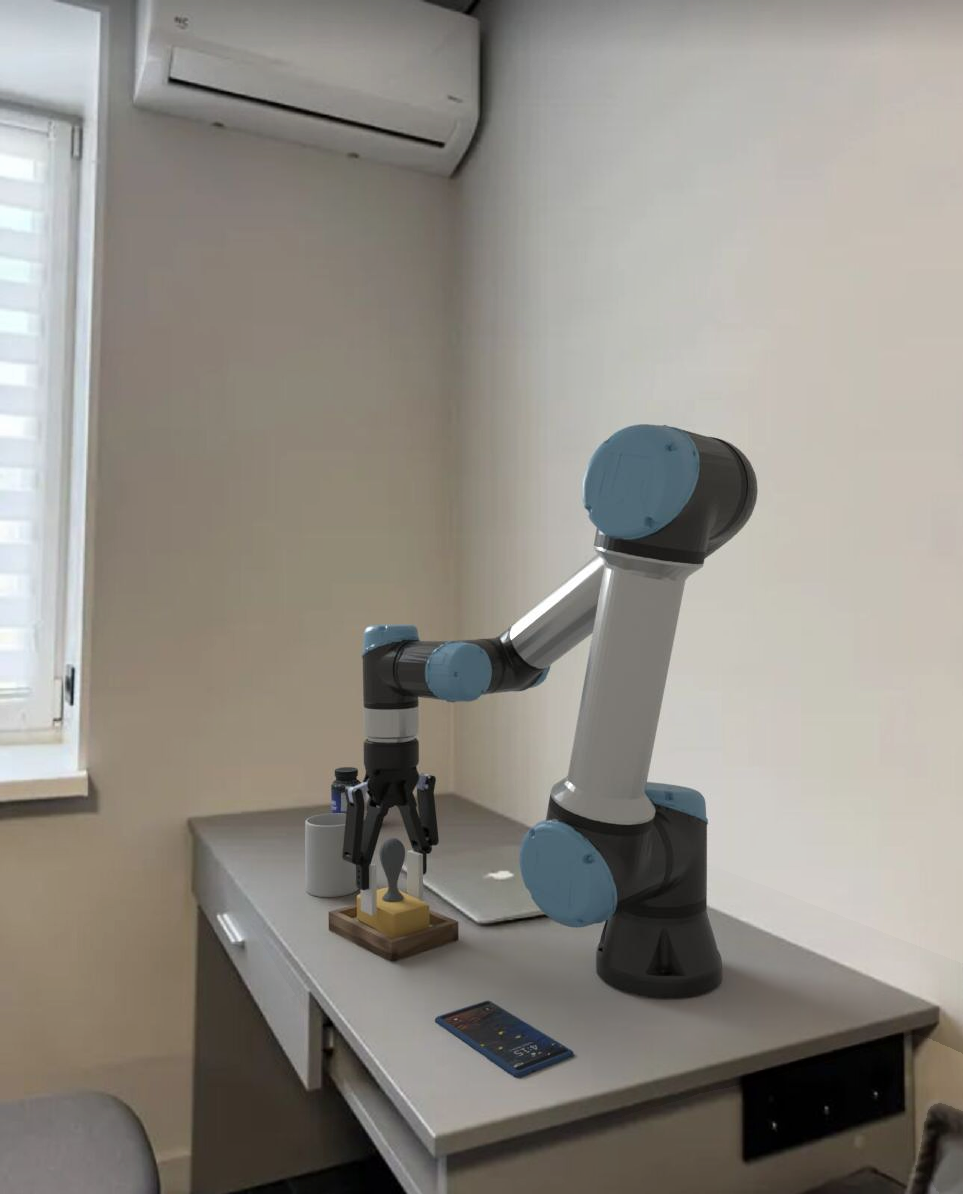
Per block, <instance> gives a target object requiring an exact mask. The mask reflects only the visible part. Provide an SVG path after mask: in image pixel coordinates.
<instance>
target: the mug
mask: <svg viewBox="0 0 963 1194" xmlns="http://www.w3.org/2000/svg"><path fill="white" fill-rule="evenodd" d="M345 822H346V814H343V813H322V814H318V815H317V814H316V815H312V816H310V817H308V818H307V819H305V822H304V826H305V827H304V839H305V840H304V842H305V845H304V847H305V850H304V851H305V852H304V853H305V854H304V855H305V859H304V860H305V864H304V865H305V869H304V870H305V874H304V875H305V878H304V881H305V882H304V883H305V884H304V885H305V891H306V893H307V894H309V895H311V896H314V897H320V898H338V897H344V896H348V895H351V894H354V893H355V892H357V891H359V890H360V889H359V888H357V886H356V865H355V864H353V863H350V862H348V861H345V860H343V858H342V854H343V843H344V833H345Z"/></svg>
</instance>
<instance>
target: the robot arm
mask: <svg viewBox="0 0 963 1194" xmlns="http://www.w3.org/2000/svg"><path fill="white" fill-rule="evenodd" d="M581 492H582V493H581V495H582V502H583V508H584V509H585V510H587V512H588V514H587V515H588V519H589V521H590V522H591V523H592V524H593V525H594V526H595V527H596V529H595V530H596V531H595V536H594V543H593V549H594V550H595V552H596V553H597V554H596V555H595V556H593V557H592V558H591V559H590V560H589V561H587V562H586V563H585V564H584V565H583V566H581V567H580V568H579V569H578V570H576V572H574V573H573V574H572V575H571V576H569V577H568V578H567V579H566V580H565V581H564V582H562V583H561V584H560V585H559V586H557V587H556V588H555V589H554V590H553V591H551V592H550V593H549V594H548V595H546V596H545V597H544V598H543V599H542V600H540V602H538V603H537V604H536V605H534V607H532V608H531V609H530V610H528V611H527V613H525V614H524V615H523V616H521V617H520V618H519V619H518V620H517V621H516V622H514V623H513V624H512V625H511V626H509V627H508V628H507V629H506V630H505V631H503V632H502V633H501V634H499V636H495V637H492V638H490V637H489V638H478V639H476V638H475V639H460V640H459V639H458V640H438V641H437V640H421V639H420V638H419V632H418V631H419V629H418V627H416V625H413V624H405V623H404V624H397V623H395V624H393V623H392V624H390V623H389V624H372V625H368V626H367V627H366V628H365V629H364V632H363V642H362V653H361V658H362V681H363V682H362V693H363V694H362V695H363V697H362V700H363V735H364V736H365V737H366V739H365V740H364V741H363V766H364V769H365V775H364V777H363V780H362V782H361V784H359V785H357V786H354V787H352V786H347V787H346V788H345V796H346V800H347V812H346V822H345V833H344V843H343V854H342V858H343V860H345V861H348V862H350V863H353V864H355V865H356V886H357V888H359V889H358V890H360V894H361V911H364V912H366V913H368V914H370V915H375V914H377V890H378V887H377V883H378V881H377V877H378V876H377V864H374V863H372V862H373V861H372V860H373V857H374V855H375V850H376V846H377V843H378V840H379V836H380V833H381V830H382V826H383V823H384V819H385V817H387V815H388V813H389V809H392V808H394V807H395V806H396V808H397V809H398V811H399V813H400V816H401V818H402V822H403V826H404V828H405V831H406V834H407V837H408V840H409V843H410V846H411V849H413V850H411V849H410V850H407V851H406V892H407V893H406V894H408V895H410V896H412V897H414V898H417V899H419V900H421V901H423V902H424V875H426V874H427V871H428V869H427V863H428V862H427V861H428V860H427V859H428V858H427V856H428V855H429V854H431V852H432V851H433V847H432V846H437V845H438V844H439V842H440V839H439V838H440V837H439V829H438V822H437V811H436V809H437V808H436V800H435V787H436V782H437V778H436V776H435V775H431V774H428V773H424V772H422V773H419V771H418V768H417V766H418V765H419V764H420V763H419V762H420V742H419V740H418V738H417V737H416V736H417V735H419V733H420V721H419V720H420V718H419V717H420V716H419V711H420V710H419V707H420V706H419V703H420V702H419V698H422V699H423V698H424V699H431V700H439V701H446V702H448V703H456V702H463V703H464V702H466V703H467V702H468V703H469V702H474V701H476V700H478V699H479V698H480V697H481V696H484V695H491V694H498V693H508V692H523V691H526V690H529V689H532V688H536V687H538V686H540V685H541V684H542V683H544V682H545V680H547V677H548V674H549V673H550V670H551V666H552V664H554V663H555V662H556V661H558V660H560V659H561V658H562V657H563V656H564V655H566V654H568V652H570V651H571V650H572V649H574V648H575V647H576V646H577V645H579V644H580V643H582V642H583V641H584V640H586V639H587V638H588V637H590V636H591V640H590V646H589V653H588V658H587V663H586V669H585V674H584V675H585V676H584V681H583V687H582V692H581V696H580V697H581V699H580V704H579V710H578V715H577V720H576V727H575V732H574V737H573V744H572V750H571V755H570V759H569V765H568V771H567V776H566V777H564V778H562V779H561V780H559V781H557V782H556V783H555V784H553V785H552V787H551V789H550V793H549V800H548V805H547V811H546V816H545V820H541V821H538V822H537V823H536V824H535V825H534V826H532V828H530V829H529V830H528V831H527V832H526V833H525V835H524V837H523V839H522V841H521V844H520V849H519V857H518V859H519V869H520V874H521V878H522V881H523V884H524V886H525V888H526V890H528V891H529V893H530V895H531V899H532V900H533V902H534V904H535V905H536V906H537V908H538V909H540V910H541V912H542V913H543V914H545V916H547V917H549V918H550V919H551V920H552V921H554V922H555V923H557V924H560V925H561V926H562V925H563V926H565V927H569V928H577V929H578V928H584V927H588V926H591V925H594V924H602V923H604V922H605V923H604V925H603V928H602V932H601V935H600V939H599V943H598V945H597V947H596V953H595V961H596V962H595V969H596V973H597V975H598V977H599V978H600V979H601V980H602V981H603V982H604V983H605V984H607V985H609V986H610V987H612V988H614V989H617V990H619V991H622V992H624V993H627V994H631V995H635V996H638V997H639V996H640V997H645V998H650V999H664V1000H665V999H667V1000H669V999H670V1000H673V999H674V1000H675V999H686V998H693V997H694V998H695V997H698V996H702V995H704V994H705V995H706V994H708V993H710V992H712V991H714V990H716V989H717V988H718V987H719V986H720V985H721V983H722V981H723V960H722V959H723V958H722V955H721V953H720V951H719V950H718V946H717V941H716V938H715V935H714V932H713V928H712V925H711V922H710V918H709V914H708V908H707V907H708V906H707V905H708V903H707V902H708V899H707V897H708V896H707V895H708V894H707V893H708V892H707V891H708V884H707V883H708V882H707V881H708V872H707V871H708V853H707V851H708V825H709V819H708V817H707V807H706V799H705V797H704V795H703V794H702V793H701V792H700V791H698V790H696V789H694V788H691V787H687V786H681V785H676V784H669V783H661V782H651V781H648V777H649V773H650V772H649V771H650V767H651V761H652V757H653V751H654V746H655V742H656V736H657V730H658V725H659V720H660V714H661V710H662V704H663V699H664V694H665V688H666V683H667V678H668V673H669V667H670V664H671V658H672V651H673V647H674V641H675V635H676V630H677V626H678V622H679V621H678V620H679V616H680V610H681V606H682V599H683V594H684V590H685V584H686V581H687V579H688V578H689V577H690V576H691V575H693V574H694V573H697V571H698V570H700V569H702V568H703V567H704V564H705V559H707V558H708V557H709V556H711V555H713V554H714V553H715V552H716V551H717V550H719V549H720V548H722V547H723V546H724V545H725V544H727V543H728V542H729V541H730V540H732V539H733V538H734V537H735V536H736V535H738V533H739V532H740V531H741V530H742V529H743V528H744V526H746V524H747V523H748V522H749V521H750V519H751V516H752V515H753V512H754V509H755V507H756V503H757V500H758V480H757V475H756V472H755V470H754V467H753V465H752V463H751V461H750V460H749V459H748V458H747V456H746V455H745V453H744V452H742V450H740V448H738V447H737V446H735V445H734V444H733V443H730V442H729V441H726V440H724V439H721V438H719V437H717V438H716V437H712V436H707V435H703V434H701V433H697V432H692V431H688V430H685V429H682V428H678V427H676V426H669V425H667V424H663V425H658V424H649V423H647V424H646V423H644V424H642V423H639V424H634V425H629V426H626V427H624V428H621V429H619V430H618V431H616V432H614V433H613V434H612V435H610V437H609V438H608V439H606V440H604V441H603V442H602V443H601V444H600V445H599V446H598V448H597V449H596V450H595V451H594V453H593V455H592V456H591V458H590V459H589V462H588V464H587V466H586V469H585V472H584V475H583V479H582V489H581ZM415 789H416V798H417V801H416V798H415V795H414V791H415ZM366 795H368V800H367V796H366ZM366 800H367V803H366V805H365V801H366ZM365 806H366V807H365ZM417 809H418V810H417ZM365 810H366V813H365ZM365 814H366V815H365Z"/></svg>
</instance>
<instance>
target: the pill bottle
mask: <svg viewBox="0 0 963 1194" xmlns="http://www.w3.org/2000/svg"><path fill="white" fill-rule="evenodd" d="M358 775H359V769H358V768H357V767H354V766H352V767H351V766H345V767H343V766H342V767H338V768H335V769H334V777H335V779H334V781H332V783H331V785H330V786H331V787H330V788H331V789H330V791H331V793H330V796H331V797H330V798H331V799H330V802H331V803H330V804H331V805H330V810H331V811H330V812H331V813H343V814H346V812H347V800H346V796H345V788H346V787H347V786H352V787H354V786H357V785H359V784H361V783H362V782H361V781H360V779H358Z"/></svg>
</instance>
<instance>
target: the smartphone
mask: <svg viewBox="0 0 963 1194" xmlns="http://www.w3.org/2000/svg"><path fill="white" fill-rule="evenodd" d="M434 1022H435V1024H437V1025H439V1026H440V1027H442V1028H443V1029H445V1030H446V1031H447V1032H448V1033H451V1035H453V1036H454V1037H456V1038H457V1039H459V1041H461V1042H463V1043H465V1044H466V1045H467V1046H469V1047H471V1048H472V1049H473V1050H474V1051H476V1052H477V1053H479V1054H480V1055H482V1056H483V1057H484V1058H485V1059H487V1060H489V1062H491V1063H493V1064H494V1065H496V1066H497V1067H498V1068H500V1069H501V1070H503V1071H504V1072H505V1073H507V1074H509V1075H511V1076H512V1077H513V1078H515V1079H521V1078H524V1077H526V1076H529V1075H532V1072H533V1073H537V1072H539V1071H542V1070H544V1069H547V1068H550V1067H552V1066H555V1065H557V1064H559V1063H561V1062H564V1061H567V1060H570V1059H572V1058H574V1056H575V1053H574V1051H573V1050H572V1049H570V1048H568V1047H566V1046H565V1045H564V1044H562V1043H560V1042H559V1041H557V1040H555V1039H553V1038H552V1037H550V1036H548V1035H547V1034H545V1033H544V1032H542V1031H540V1030H539V1029H537V1028H535V1027H533V1026H532V1025H531V1024H529V1023H528V1022H525V1021H523V1020H522V1019H520V1017H518V1016H516V1015H514V1014H512V1013H511V1012H509V1011H507V1010H505V1009H504V1008H502V1007H500V1006H499V1005H497V1004H496V1003H494V1002H492V1001H491V1000H485V1001H480V1002H478V1003H475V1004H471V1005H469V1006H466V1007H463V1008H459V1009H457V1010H453V1011H450V1012H447V1013H444V1014H441V1015H439V1016H436V1017H435V1018H434Z"/></svg>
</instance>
